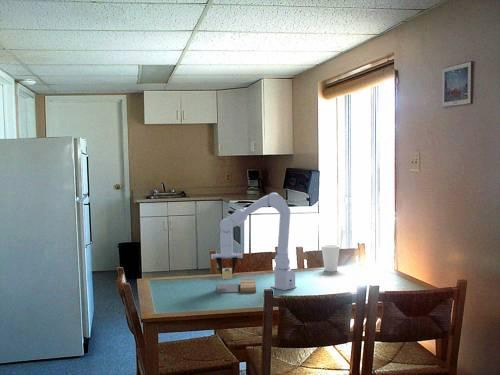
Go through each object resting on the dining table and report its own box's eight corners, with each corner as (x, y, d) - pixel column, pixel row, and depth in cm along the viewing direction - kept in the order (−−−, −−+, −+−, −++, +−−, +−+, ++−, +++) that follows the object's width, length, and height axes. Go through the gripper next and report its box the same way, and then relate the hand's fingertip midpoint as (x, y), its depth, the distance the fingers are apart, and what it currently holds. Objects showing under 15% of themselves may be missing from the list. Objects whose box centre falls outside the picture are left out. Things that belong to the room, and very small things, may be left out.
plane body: (256, 292, 263) (255, 287, 263) (240, 293, 263) (240, 287, 263) (255, 283, 281) (255, 278, 281) (240, 284, 281) (240, 278, 281)
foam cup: (340, 271, 305) (340, 247, 304) (323, 272, 305) (322, 247, 304) (338, 268, 314) (338, 244, 314) (321, 268, 315) (320, 244, 314)
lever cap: (232, 278, 268) (232, 269, 268) (222, 278, 268) (222, 269, 268) (232, 275, 275) (232, 266, 275) (222, 275, 275) (222, 266, 275)
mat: (238, 292, 264) (238, 291, 264) (216, 293, 264) (216, 292, 264) (238, 284, 280) (238, 283, 280) (217, 285, 280) (217, 284, 280)
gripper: (242, 243, 275) (242, 271, 276) (211, 243, 275) (211, 272, 275) (242, 245, 268) (243, 274, 269) (210, 246, 268) (211, 275, 268)
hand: (227, 273), depth 272 cm, fingers closed on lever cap, 4 cm apart
